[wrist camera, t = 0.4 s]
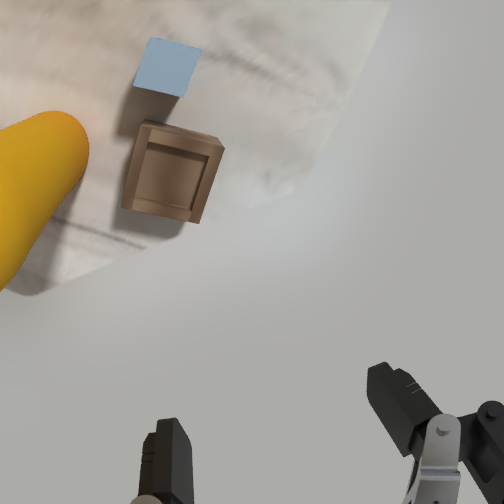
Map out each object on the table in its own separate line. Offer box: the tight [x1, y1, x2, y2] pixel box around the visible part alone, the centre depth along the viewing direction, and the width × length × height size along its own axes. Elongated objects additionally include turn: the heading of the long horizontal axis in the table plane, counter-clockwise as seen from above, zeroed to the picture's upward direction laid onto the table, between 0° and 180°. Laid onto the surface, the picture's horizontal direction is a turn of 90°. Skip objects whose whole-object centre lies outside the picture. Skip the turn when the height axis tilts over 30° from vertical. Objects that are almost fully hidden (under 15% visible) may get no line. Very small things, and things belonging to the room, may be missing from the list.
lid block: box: [133, 37, 202, 98], centre depth 23 cm, size 4×4×6 cm
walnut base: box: [121, 120, 225, 224], centre depth 29 cm, size 8×8×5 cm
